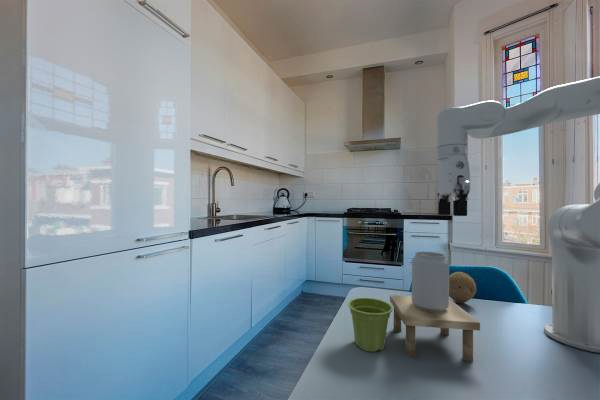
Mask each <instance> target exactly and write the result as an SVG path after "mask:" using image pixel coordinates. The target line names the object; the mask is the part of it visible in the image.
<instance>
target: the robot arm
mask: <svg viewBox="0 0 600 400" xmlns="http://www.w3.org/2000/svg"><path fill="white" fill-rule="evenodd" d="M595 115H600V75H599V76H596V77H595V76H594V77H591V78H587V79H583V80H578V81H574V82H569V83H565V84H561V85H560V84H559V85H556V86H553V87H550V88H549V87H548V88H547V89H545V90H542V91H540V92H539V93H537V94H536V95H533V96H532V97H530V98H528V99H526V100H523V101H522V102H520V103H517V104H515V105H512V106H507V107H505V106H504V104H503V103H501V102H500V101H497V100H496V101H495V100H486V101H485V100H484V101H480V102H477V103H473V104H469V105H466V106H465V105H464V106H452V107H447V108H444V109H441V111H439V112H438V114H437V116H436V161H437V162H438V167H437V168H438V169H437V189H436V190H437V214H438V215H440V216H450V215H451V201H450V199H451V196H452V195H453V198H454V200H453V201H452V202H453V203H452V215H453V216H454V217H466V216H468V200H469V197H468V195H469V193H470V191H471V174H470V173H471V170H470V162H469V159H468V158H469V156H468V155H469V148H468V147H469V146H468V145H469V142H468V141H469V136H470V137H471V138H473V139H476V140H477V139H481V140H482V139H488V138H489V139H490V138H496V137H501V136H505V135H511V134H515V133H519V132H524V131H526V130H531V129H535V128H539V127H543V126H547V125H550V124H554V123H559V122H563V121H569V120H574V119H580V118H586V117H591V116H595ZM593 197H594V201H593V202H591V203H576V204H568V205H564V206H562V207H560V208H558V209H557V210H555V211H554V212H553V213H552V214H551V215H550V218H549V220H548V224H547V231H548V237H549V241H550V248H551V266H552V267H551V297H552V298H551V302H552V303H551V307H552V308H551V309H552V310H551V311H552V312H551V314H552V315H551V316H552V317H551V318H552V319H551V321H552V323H546V324H545V325H543V332H544V333H545V335H547V336H548V337H550V338H551V339H553V340H556V341H557V342H559V343H562V344H565V345H567V346H570V347H573V348H576V349H579V350H584V351H587V352H591V353H596V354H597V353H598V354H600V182H599V183H598V184H597V185H596V186H595V189H594V191H593Z"/></svg>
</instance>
